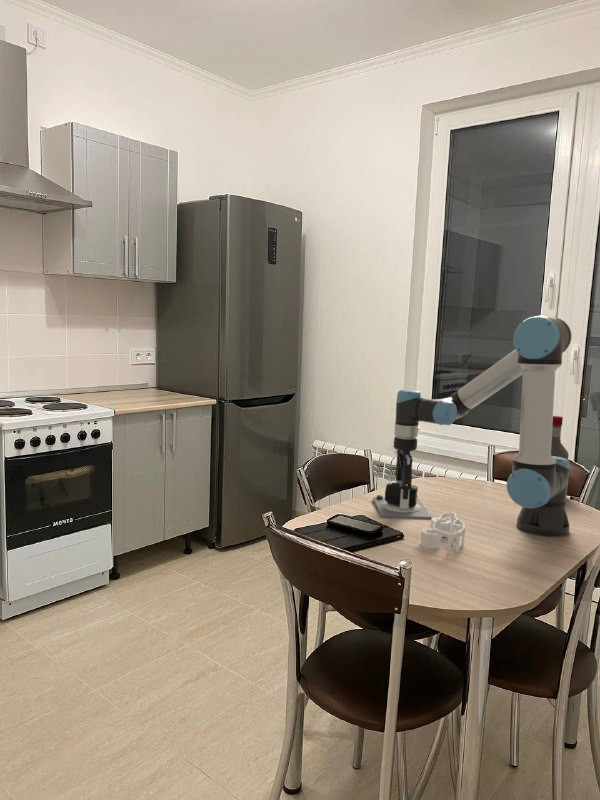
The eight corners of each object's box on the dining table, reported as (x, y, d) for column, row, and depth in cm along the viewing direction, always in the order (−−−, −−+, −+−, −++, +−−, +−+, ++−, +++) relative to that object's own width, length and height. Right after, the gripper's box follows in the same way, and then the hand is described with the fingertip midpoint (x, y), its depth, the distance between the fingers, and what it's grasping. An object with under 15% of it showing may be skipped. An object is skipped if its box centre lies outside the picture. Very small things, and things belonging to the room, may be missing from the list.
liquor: (533, 495, 233) (541, 416, 229) (540, 490, 240) (548, 413, 236) (558, 500, 228) (567, 419, 224) (565, 495, 235) (573, 417, 231)
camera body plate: (431, 521, 197) (432, 514, 197) (381, 519, 197) (381, 512, 196) (418, 502, 217) (418, 495, 217) (372, 501, 217) (373, 494, 216)
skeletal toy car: (433, 532, 188) (435, 509, 187) (471, 539, 183) (473, 515, 182) (415, 554, 170) (417, 528, 169) (456, 562, 165) (458, 536, 164)
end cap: (384, 505, 205) (385, 485, 204) (388, 499, 212) (389, 480, 211) (414, 509, 202) (415, 489, 201) (418, 503, 208) (419, 484, 207)
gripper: (424, 444, 193) (419, 514, 196) (410, 431, 214) (406, 495, 217) (400, 443, 193) (395, 513, 196) (389, 430, 214) (385, 494, 217)
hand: (401, 503), depth 207 cm, fingers closed on end cap, 9 cm apart
